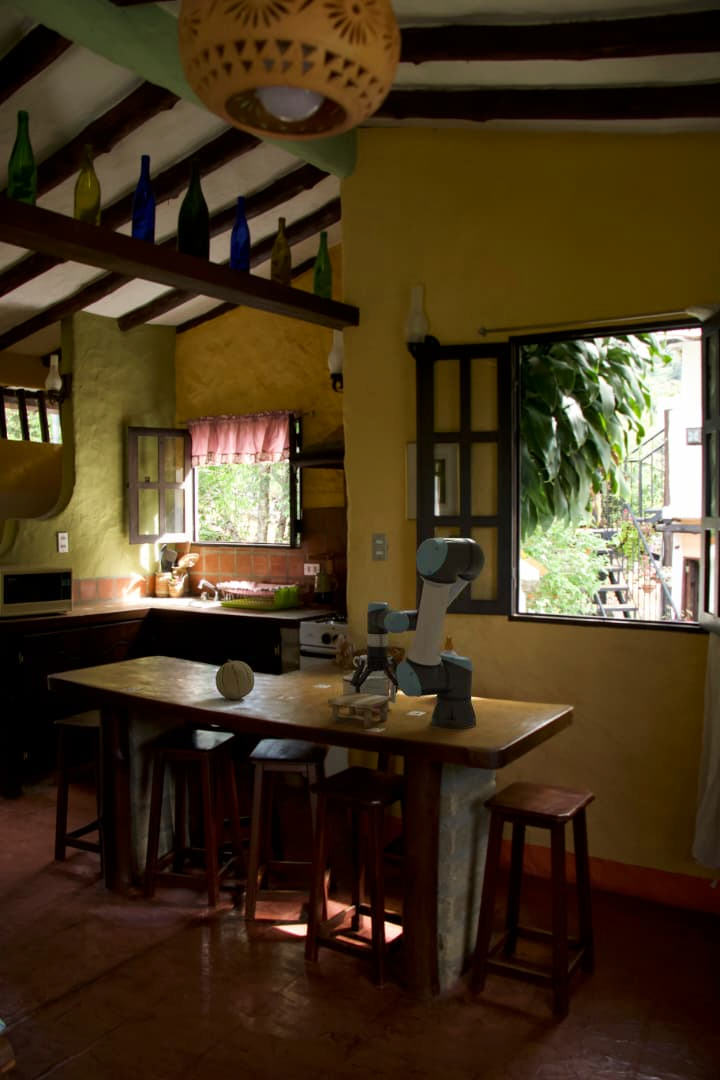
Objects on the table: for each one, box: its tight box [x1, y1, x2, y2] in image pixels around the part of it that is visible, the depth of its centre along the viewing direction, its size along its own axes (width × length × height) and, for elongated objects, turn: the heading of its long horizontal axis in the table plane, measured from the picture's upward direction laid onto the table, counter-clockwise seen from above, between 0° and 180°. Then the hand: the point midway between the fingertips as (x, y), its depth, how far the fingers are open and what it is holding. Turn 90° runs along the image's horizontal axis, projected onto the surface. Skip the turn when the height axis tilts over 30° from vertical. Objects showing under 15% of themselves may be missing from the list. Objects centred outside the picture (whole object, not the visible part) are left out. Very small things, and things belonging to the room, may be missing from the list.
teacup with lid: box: [342, 670, 364, 695], centre depth 334 cm, size 12×9×12 cm
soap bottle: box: [440, 635, 459, 656], centre depth 346 cm, size 9×9×24 cm
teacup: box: [352, 654, 388, 677], centre depth 380 cm, size 12×15×10 cm
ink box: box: [362, 676, 391, 714], centre depth 319 cm, size 9×9×12 cm
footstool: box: [327, 692, 392, 729], centre depth 300 cm, size 16×16×8 cm
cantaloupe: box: [215, 658, 255, 701], centre depth 334 cm, size 15×15×15 cm
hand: (376, 704), depth 319 cm, fingers open, 13 cm apart
